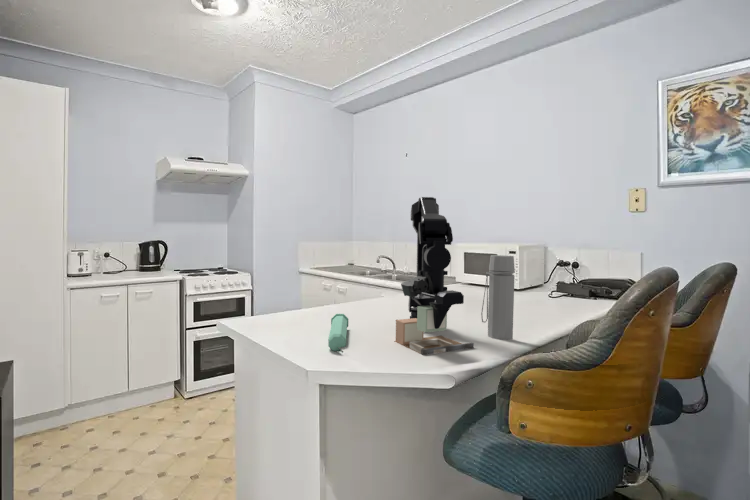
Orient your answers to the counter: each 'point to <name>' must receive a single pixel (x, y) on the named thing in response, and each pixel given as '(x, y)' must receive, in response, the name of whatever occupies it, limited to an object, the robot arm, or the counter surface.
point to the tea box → (428, 320)
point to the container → (338, 332)
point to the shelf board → (436, 345)
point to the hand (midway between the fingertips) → (431, 326)
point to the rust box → (408, 331)
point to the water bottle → (500, 297)
